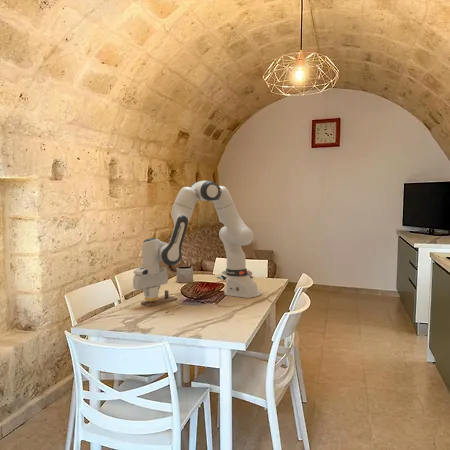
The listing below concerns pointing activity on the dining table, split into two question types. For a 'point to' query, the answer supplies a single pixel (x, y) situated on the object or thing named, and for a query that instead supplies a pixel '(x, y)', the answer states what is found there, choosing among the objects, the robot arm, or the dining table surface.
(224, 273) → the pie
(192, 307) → the dining table surface
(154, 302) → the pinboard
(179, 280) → the planter
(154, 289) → the sleeve
